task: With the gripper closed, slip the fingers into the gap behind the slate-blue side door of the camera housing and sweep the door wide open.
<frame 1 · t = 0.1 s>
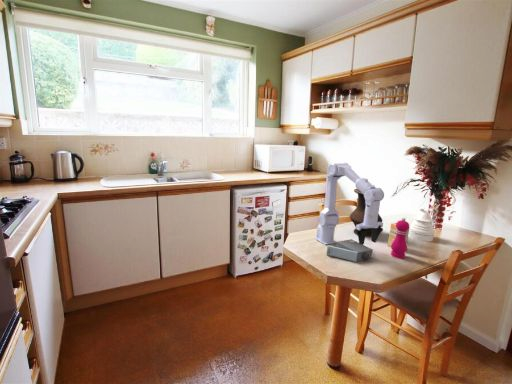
hand: (367, 242, 133), 10 cm above the table, tool pointing down, fingers open, 7 cm apart
jug: (363, 233, 175), on the table
camera housing: (353, 253, 144), on the table
pepper mill: (397, 256, 145), on the table
honey pot: (420, 237, 172), on the table
side door: (341, 253, 138), point 3 cm above the table, hinge at 35.0°, touching camera housing
supplement box: (396, 248, 154), on the table
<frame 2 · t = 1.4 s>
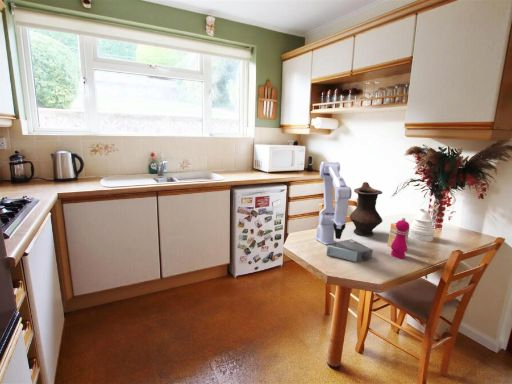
hand: (337, 238, 141), 8 cm above the table, tool pointing down, fingers closed
nothing on the table moved.
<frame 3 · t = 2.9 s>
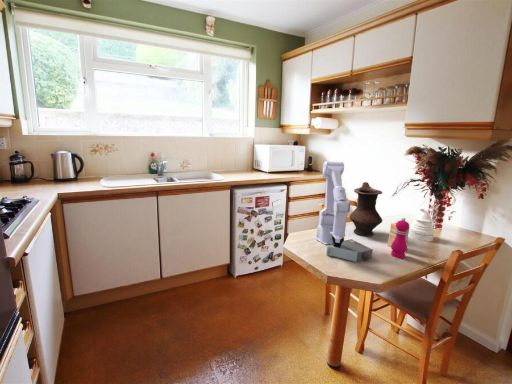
hand: (336, 251, 141), 2 cm above the table, tool pointing down, fingers closed
side door: (341, 253, 138), point 3 cm above the table, hinge at 35.3°, touching camera housing, gripper
everything else where it was.
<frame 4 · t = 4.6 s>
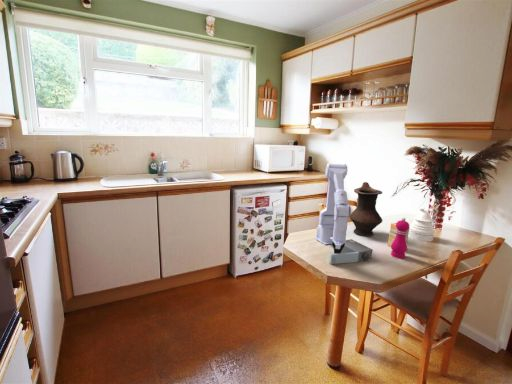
hand: (336, 257, 134), 2 cm above the table, tool pointing down, fingers closed, pressing on side door
side door: (344, 258, 133), point 3 cm above the table, hinge at 77.5°, touching gripper
everything else where it was.
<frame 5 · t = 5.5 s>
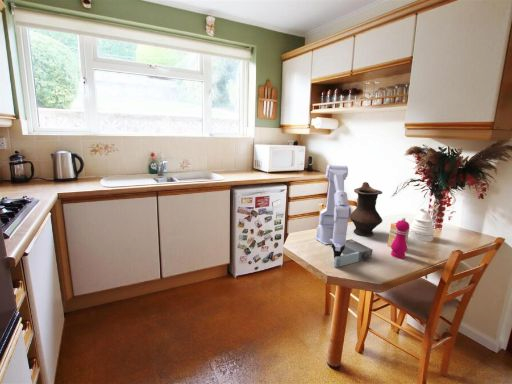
hand: (336, 259, 132), 2 cm above the table, tool pointing down, fingers closed
side door: (347, 260, 131), point 3 cm above the table, hinge at 91.3°, touching gripper
everything else where it was.
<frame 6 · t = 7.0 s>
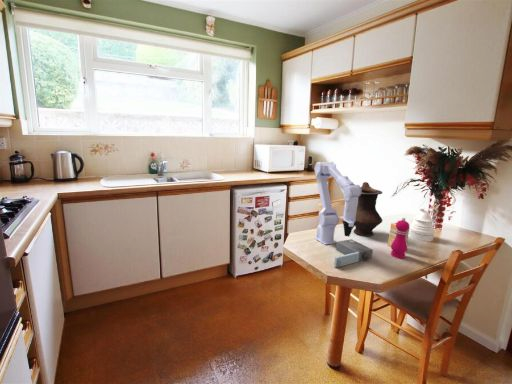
hand: (346, 235, 143), 9 cm above the table, tool pointing down, fingers closed
side door: (347, 260, 131), point 3 cm above the table, hinge at 91.6°
everything else where it was.
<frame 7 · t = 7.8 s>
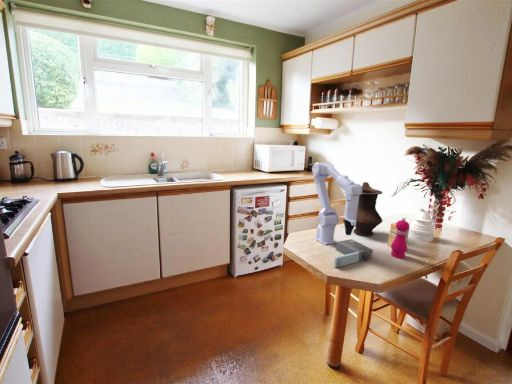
hand: (348, 234, 144), 9 cm above the table, tool pointing down, fingers closed
nothing on the table moved.
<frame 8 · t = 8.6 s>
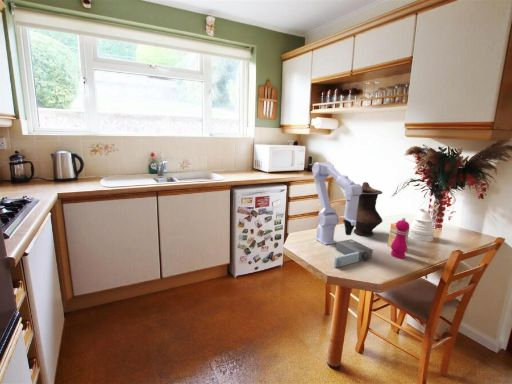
hand: (348, 234, 144), 9 cm above the table, tool pointing down, fingers closed
nothing on the table moved.
at the end: side door at +92° (first picture: +35°); pepper mill moved 0.2 cm from its start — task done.
